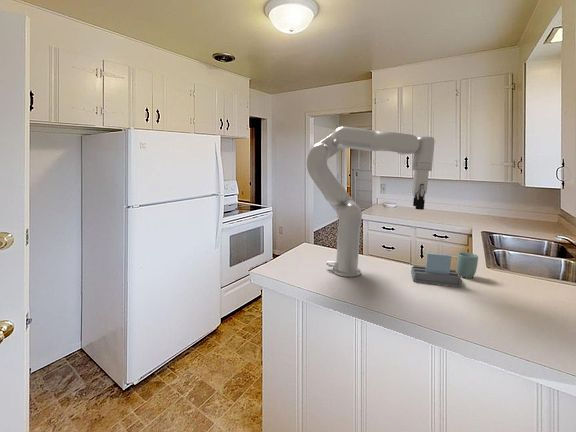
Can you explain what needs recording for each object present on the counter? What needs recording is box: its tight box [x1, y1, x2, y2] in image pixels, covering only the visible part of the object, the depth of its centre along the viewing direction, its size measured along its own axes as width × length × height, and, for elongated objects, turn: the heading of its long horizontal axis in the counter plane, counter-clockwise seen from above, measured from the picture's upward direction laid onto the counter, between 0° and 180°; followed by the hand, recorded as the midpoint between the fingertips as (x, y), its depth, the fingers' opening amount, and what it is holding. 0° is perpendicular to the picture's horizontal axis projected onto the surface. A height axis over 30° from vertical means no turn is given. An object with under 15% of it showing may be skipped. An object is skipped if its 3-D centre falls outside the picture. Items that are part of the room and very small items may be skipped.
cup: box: [456, 251, 479, 279], centre depth 138 cm, size 8×8×10 cm
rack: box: [410, 264, 463, 288], centre depth 133 cm, size 18×11×4 cm, turn 74°
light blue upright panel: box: [425, 252, 452, 275], centre depth 130 cm, size 9×2×11 cm, turn 74°
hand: (418, 207), depth 133 cm, fingers open, 9 cm apart
